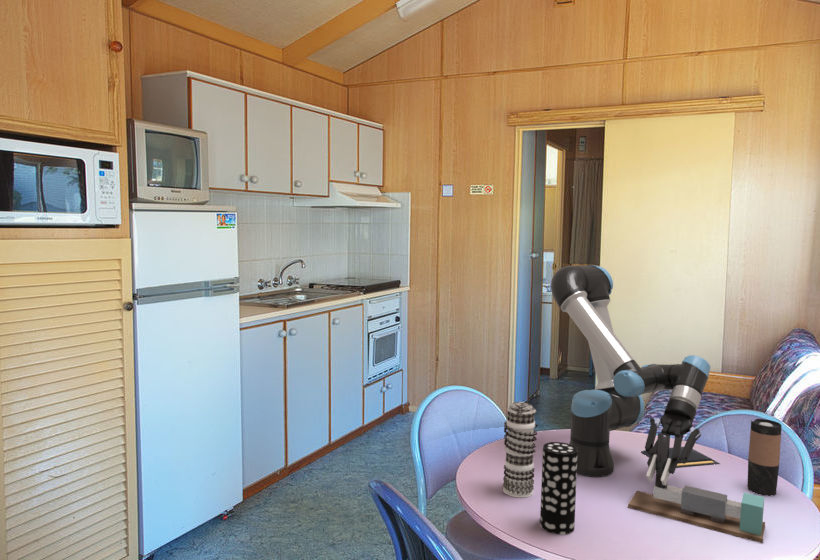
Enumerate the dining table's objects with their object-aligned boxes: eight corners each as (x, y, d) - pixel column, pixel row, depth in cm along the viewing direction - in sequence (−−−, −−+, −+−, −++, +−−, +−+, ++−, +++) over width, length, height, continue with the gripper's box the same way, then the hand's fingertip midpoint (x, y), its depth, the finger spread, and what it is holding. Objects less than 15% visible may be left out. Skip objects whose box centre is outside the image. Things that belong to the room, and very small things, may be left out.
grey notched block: (680, 513, 153) (681, 491, 152) (683, 506, 157) (685, 484, 157) (723, 524, 147) (725, 502, 147) (726, 516, 152) (727, 494, 151)
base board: (627, 507, 158) (628, 503, 158) (636, 494, 166) (636, 490, 166) (762, 543, 141) (762, 539, 141) (764, 526, 149) (765, 522, 149)
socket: (739, 530, 145) (741, 502, 144) (742, 519, 150) (743, 492, 150) (760, 535, 142) (762, 507, 142) (762, 524, 148) (764, 497, 147)
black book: (690, 444, 204) (722, 460, 189) (689, 449, 204) (721, 466, 189) (638, 447, 199) (666, 464, 185) (638, 452, 200) (666, 470, 185)
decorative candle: (504, 482, 173) (507, 398, 170) (536, 487, 169) (540, 401, 167) (498, 494, 164) (501, 406, 162) (532, 500, 161) (535, 410, 159)
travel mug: (781, 497, 166) (786, 428, 164) (751, 494, 167) (756, 425, 165) (770, 486, 173) (775, 419, 171) (742, 483, 175) (746, 417, 173)
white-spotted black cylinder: (535, 518, 151) (538, 442, 149) (567, 517, 152) (570, 441, 150) (545, 535, 143) (549, 454, 141) (579, 534, 143) (582, 454, 142)
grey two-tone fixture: (653, 497, 157) (656, 435, 156) (655, 493, 160) (659, 432, 159) (741, 519, 146) (745, 452, 145) (742, 514, 149) (746, 448, 147)
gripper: (716, 419, 162) (691, 497, 151) (656, 406, 173) (629, 478, 162) (710, 404, 157) (684, 483, 147) (650, 392, 169) (622, 464, 158)
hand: (656, 480), depth 155 cm, fingers closed on grey two-tone fixture, 3 cm apart
